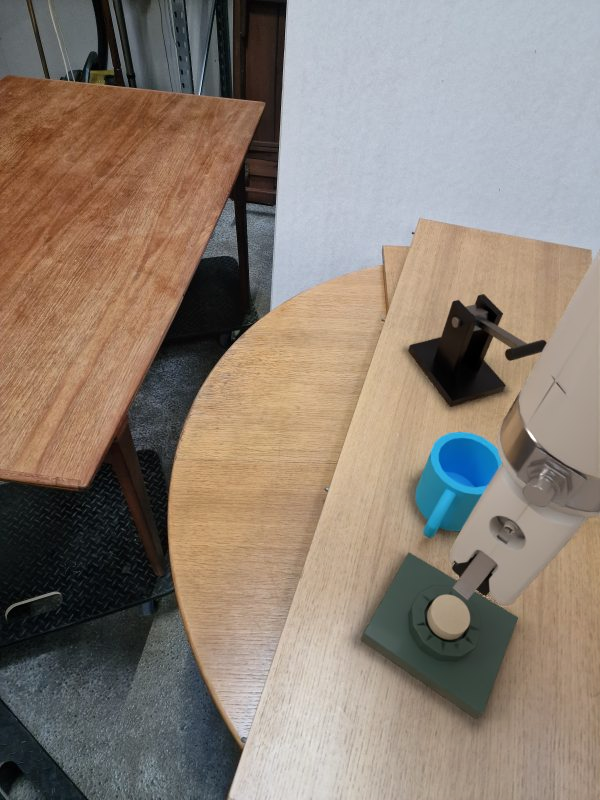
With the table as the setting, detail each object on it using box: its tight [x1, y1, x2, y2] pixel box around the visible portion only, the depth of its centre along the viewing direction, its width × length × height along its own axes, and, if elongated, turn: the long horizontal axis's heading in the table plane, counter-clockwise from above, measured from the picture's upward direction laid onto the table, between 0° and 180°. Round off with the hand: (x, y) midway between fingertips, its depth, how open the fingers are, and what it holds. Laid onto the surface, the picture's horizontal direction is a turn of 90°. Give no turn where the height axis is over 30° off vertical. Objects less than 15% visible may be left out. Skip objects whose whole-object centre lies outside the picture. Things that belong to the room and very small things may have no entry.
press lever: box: [465, 303, 548, 362], centre depth 65 cm, size 12×5×2 cm, turn 21°
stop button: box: [427, 595, 470, 640], centre depth 48 cm, size 4×4×2 cm
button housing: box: [360, 552, 519, 719], centre depth 50 cm, size 12×10×4 cm
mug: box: [414, 431, 502, 539], centre depth 58 cm, size 12×8×8 cm
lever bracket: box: [407, 293, 507, 408], centre depth 72 cm, size 12×9×12 cm
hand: (472, 575), depth 42 cm, fingers closed
